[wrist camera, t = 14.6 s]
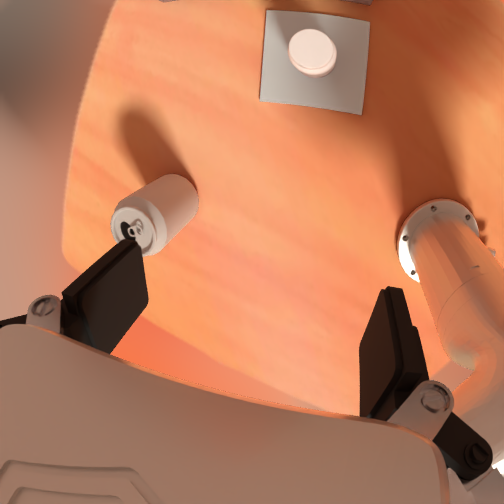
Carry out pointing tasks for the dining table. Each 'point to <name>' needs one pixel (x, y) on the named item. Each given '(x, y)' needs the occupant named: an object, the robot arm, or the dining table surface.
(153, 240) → the can
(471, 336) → the robot arm
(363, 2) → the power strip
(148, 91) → the dining table surface
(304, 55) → the pill bottle
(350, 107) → the mat
